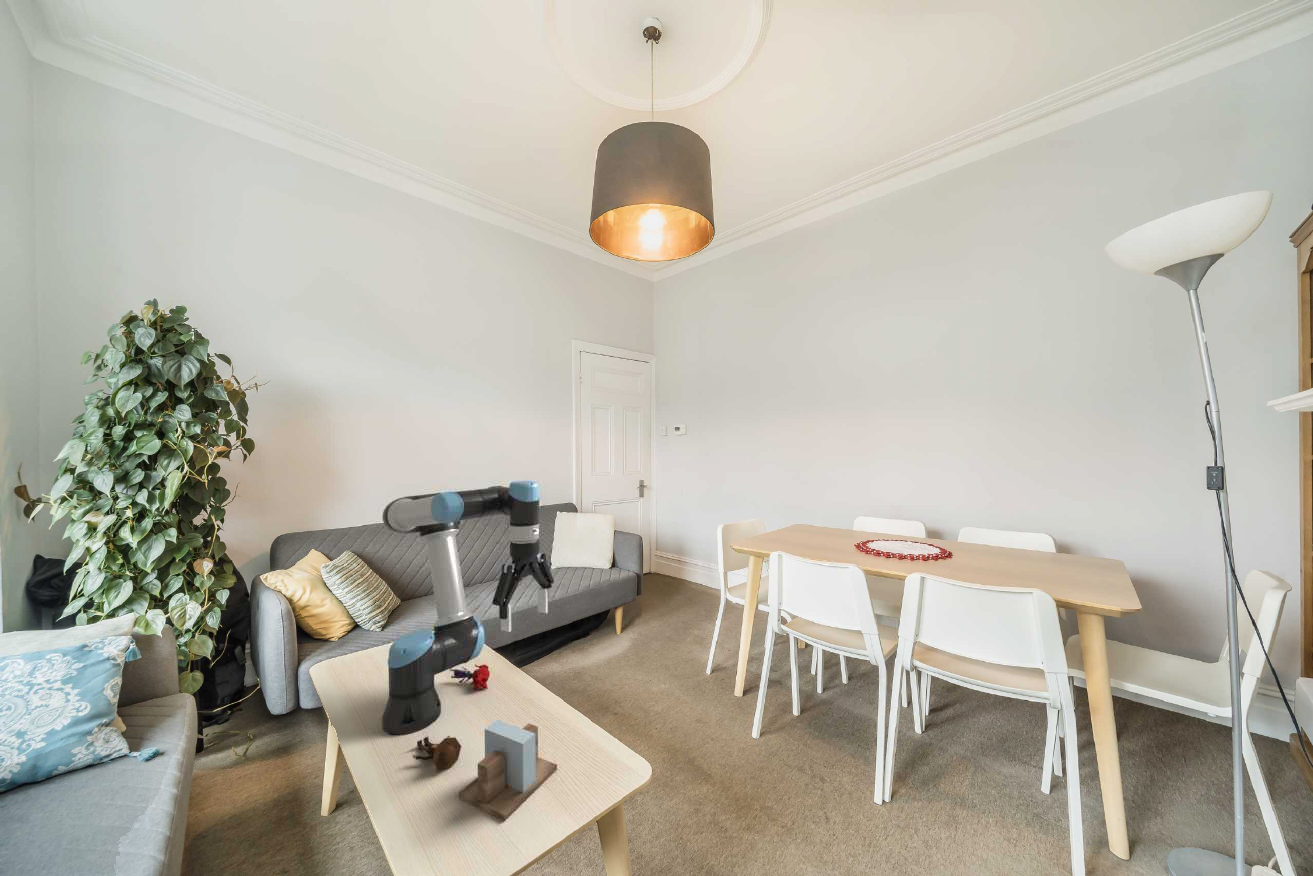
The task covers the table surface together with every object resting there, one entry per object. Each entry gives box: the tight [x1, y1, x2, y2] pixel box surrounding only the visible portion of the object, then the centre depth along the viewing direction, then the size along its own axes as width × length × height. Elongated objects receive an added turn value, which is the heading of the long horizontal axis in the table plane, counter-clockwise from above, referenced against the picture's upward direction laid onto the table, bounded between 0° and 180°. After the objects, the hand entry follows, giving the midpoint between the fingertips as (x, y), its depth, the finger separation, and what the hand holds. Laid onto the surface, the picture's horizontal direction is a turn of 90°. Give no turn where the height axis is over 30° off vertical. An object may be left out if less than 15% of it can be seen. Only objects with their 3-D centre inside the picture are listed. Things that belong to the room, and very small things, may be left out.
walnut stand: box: [458, 723, 558, 822], centre depth 109 cm, size 14×17×9 cm
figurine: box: [449, 663, 491, 691], centre depth 152 cm, size 6×8×15 cm
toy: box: [412, 735, 462, 772], centre depth 118 cm, size 10×7×15 cm
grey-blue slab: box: [484, 719, 536, 793], centre depth 109 cm, size 12×4×11 cm, turn 63°
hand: (525, 621), depth 122 cm, fingers open, 13 cm apart
